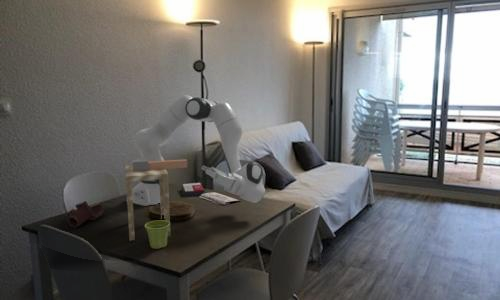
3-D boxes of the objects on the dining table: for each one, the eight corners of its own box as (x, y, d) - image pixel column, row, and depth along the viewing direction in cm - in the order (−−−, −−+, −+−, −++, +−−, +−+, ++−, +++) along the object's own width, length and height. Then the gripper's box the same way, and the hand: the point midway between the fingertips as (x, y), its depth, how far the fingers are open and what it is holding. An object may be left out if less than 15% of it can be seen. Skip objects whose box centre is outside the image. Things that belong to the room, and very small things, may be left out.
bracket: (107, 210, 192) (97, 192, 189) (83, 230, 177) (71, 210, 174) (98, 214, 194) (87, 195, 192) (74, 233, 179) (62, 214, 177)
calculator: (184, 190, 223) (181, 183, 237) (184, 198, 224) (181, 190, 238) (204, 189, 226) (200, 181, 240) (204, 196, 227) (200, 188, 241)
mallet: (185, 165, 178) (185, 156, 177) (187, 168, 172) (187, 158, 172) (133, 168, 172) (132, 159, 171) (133, 171, 166) (132, 162, 165)
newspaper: (197, 198, 223) (198, 193, 222) (216, 196, 231) (216, 192, 230) (222, 207, 205) (222, 202, 205) (241, 205, 213) (241, 200, 213)
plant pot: (141, 250, 153) (140, 227, 152) (152, 240, 162) (151, 219, 161) (165, 251, 151) (164, 229, 150) (174, 241, 160) (173, 220, 159)
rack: (165, 219, 187) (163, 163, 183) (170, 236, 166) (167, 173, 162) (129, 222, 183) (125, 165, 178) (129, 240, 162) (125, 176, 158)
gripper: (229, 171, 192) (203, 158, 187) (240, 180, 172) (212, 167, 168) (223, 183, 192) (196, 171, 187) (234, 194, 172) (205, 180, 168)
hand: (204, 169), depth 177 cm, fingers open, 8 cm apart
